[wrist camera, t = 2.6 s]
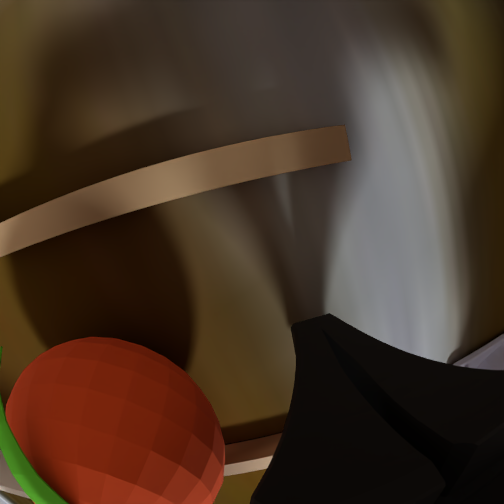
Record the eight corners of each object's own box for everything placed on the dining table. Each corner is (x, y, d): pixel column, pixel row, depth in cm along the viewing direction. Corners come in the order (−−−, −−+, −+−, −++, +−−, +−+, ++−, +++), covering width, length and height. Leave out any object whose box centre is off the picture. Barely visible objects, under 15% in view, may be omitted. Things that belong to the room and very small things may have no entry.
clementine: (9, 304, 9) (-96, 420, 2) (155, 237, 9) (52, 410, 2) (112, 442, 12) (88, 566, 5) (246, 412, 12) (275, 567, 5)
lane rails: (329, 127, 9) (344, 124, 8) (357, 421, 13) (365, 438, 12) (-7, 227, 8) (-26, 235, 7) (126, 465, 12) (123, 482, 11)
